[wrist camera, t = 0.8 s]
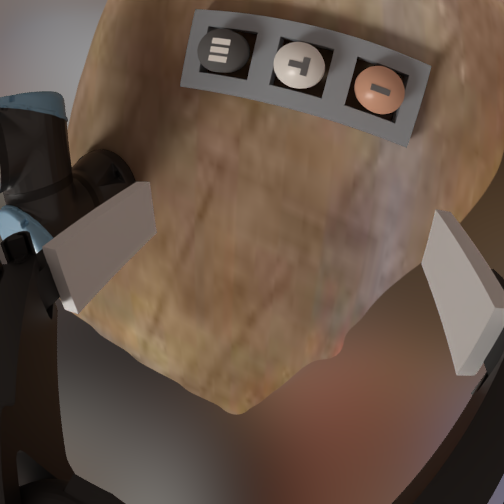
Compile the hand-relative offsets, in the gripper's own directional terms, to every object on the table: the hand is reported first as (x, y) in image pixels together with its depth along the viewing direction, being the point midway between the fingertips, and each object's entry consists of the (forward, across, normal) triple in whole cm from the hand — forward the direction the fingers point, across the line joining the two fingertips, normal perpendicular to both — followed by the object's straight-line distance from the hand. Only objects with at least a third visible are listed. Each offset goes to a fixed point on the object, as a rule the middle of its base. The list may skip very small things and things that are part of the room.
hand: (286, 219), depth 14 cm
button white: (+30, -2, +8) cm, 31 cm away
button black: (+30, -12, +10) cm, 34 cm away
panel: (+33, -2, +8) cm, 34 cm away
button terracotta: (+30, +8, +6) cm, 31 cm away
